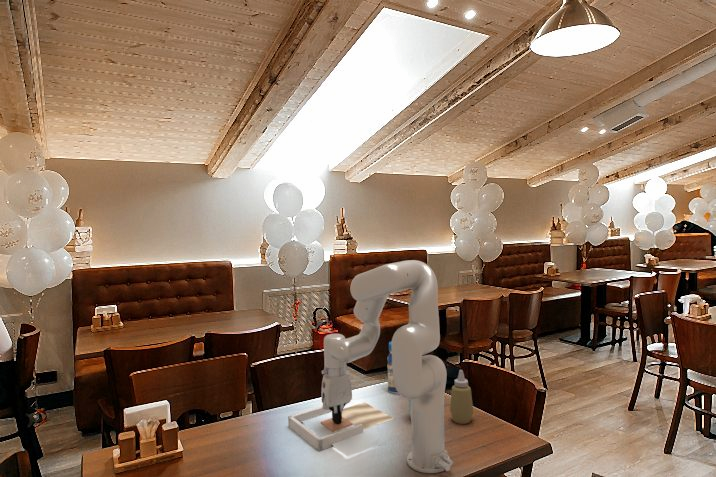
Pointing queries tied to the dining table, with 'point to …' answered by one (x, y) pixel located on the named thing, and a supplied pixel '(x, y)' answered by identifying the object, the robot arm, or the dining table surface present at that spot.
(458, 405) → the squeeze bottle
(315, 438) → the box
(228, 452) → the dining table surface
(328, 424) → the tile
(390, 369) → the beverage bottle
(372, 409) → the beige square board
